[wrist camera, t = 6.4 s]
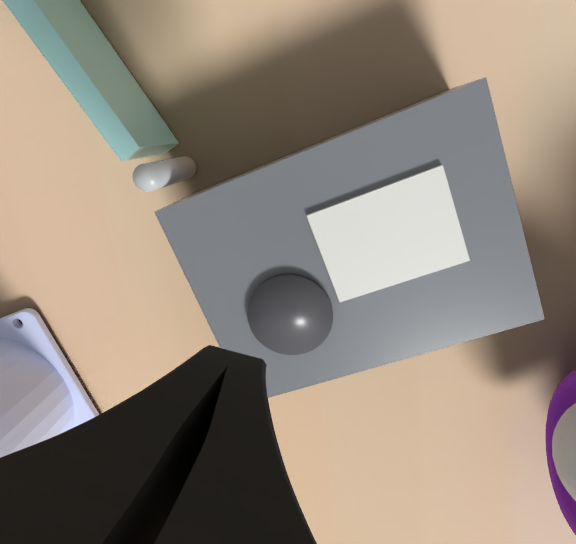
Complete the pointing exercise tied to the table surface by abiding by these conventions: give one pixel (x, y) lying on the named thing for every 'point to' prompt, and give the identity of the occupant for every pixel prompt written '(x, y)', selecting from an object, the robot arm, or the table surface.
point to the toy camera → (563, 446)
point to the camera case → (363, 245)
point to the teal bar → (103, 87)
